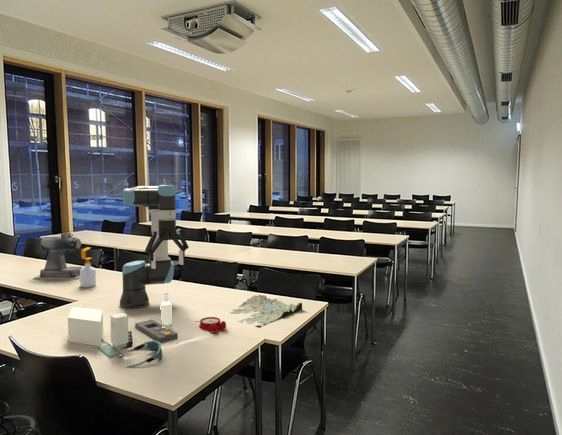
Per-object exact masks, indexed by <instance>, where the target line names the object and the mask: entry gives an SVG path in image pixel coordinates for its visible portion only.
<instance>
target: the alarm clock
mask: <svg viewBox="0 0 562 435" xmlns="http://www.w3.org/2000/svg"><path fill="white" fill-rule="evenodd" d="M195 322H196V323H198V321H195ZM199 329H200V330H204V331H208V332H210V334H216V333H217V332H219V331H221V332H222V331H225V330H226V329H227V323H226V321H224V320H223V321H221V318H219V317H216V316H214V317H213V316H207V317H203V318H201V319H200V321H199Z"/></svg>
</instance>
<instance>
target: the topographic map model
mask: <svg viewBox="0 0 562 435" xmlns="http://www.w3.org/2000/svg"><path fill="white" fill-rule="evenodd" d="M300 310H301V311H302V310H303V303H302V302H299V303H297V304H294V303H293V304H292V303H290V304H289V305H287V304H286V303H284V302H283V301H281V300H278V299H277V298H273V299H272V298H270V297H269V298H267V296H266V295H263V294H258V295H253V296H251V298H250V297H249V298H247V299H246V300H245V301H244V302H242V304H241V305H239V306H237V308H231V311H228V313H230V314H231V315H233V314H234V315H240V314H243V315H244V314H247V315H248V314H250V313H252V314H250V315H249V317H246V318H243V319H241V320H238V322H237V323H241V324H242V323H244V322H245V321H246V323H245V324H247V325H253V326H254V325H255V324H254V323H257V324H258V325H255V326H254V327H256V328H261V327H263V326H267V325H268V324H271V323H273V322H276V321H278V320H280V319H283V318H286V317H288V316H290V315H294V314H296V313H298V312H300ZM295 312H296V313H295ZM259 324H260V325H259Z"/></svg>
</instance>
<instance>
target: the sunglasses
mask: <svg viewBox="0 0 562 435" xmlns="http://www.w3.org/2000/svg"><path fill="white" fill-rule="evenodd" d="M144 348H145V349H147V351H149V352H150V351H152V352H156V354H154V355H153V356H151V357H149V358H147V359H145V360H143V361H141V362H139V363H135V364H132V365H131V364H130V365H129V366H126V368H134V367H137V366H141V365H144V364H145V363H151V362H154V361H155V360H157V362H159V361H161V359H162V356H163V350H162V342H161V343H160V342H159V341H156V340H148V341H144V342H143V343H142V344H139V345H137V346H135V347H133V348H131V349H129V350H127V351H126V353H130V352H133V351H137V350H140V349H144ZM124 356H125V355H124V354H121V355H119V357H118V359H120V358H122V357H124Z"/></svg>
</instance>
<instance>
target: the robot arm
mask: <svg viewBox="0 0 562 435" xmlns="http://www.w3.org/2000/svg"><path fill="white" fill-rule="evenodd" d="M176 194H177V191H176V186H175V185H173V184H160V185H138V186H133V187H130V188H123V190H122V203H123V205H124V206H134V207H140V208H147V211H148V212H149V213H150V214H151V215H150V216H151V217H150V219H151V220H150V221H151V222H150V223H151V226H150V227H151V230H150V231H151V236H150V238H149V240H148V243H147V244H146V247H145V250H144V252H145V253H147V254H148V258H149V259H148V263H146V261H145V260H135V261H134V260H133V261H130V262H127V263H125V264H124V265H122V273H121V274H122V293H121V296H120V299H119V307H120V308H124V309H137V308H138V309H139V308H144V307H147V306H148V305H149V304H150V298H149V296H148V292H147V290H146V285H148V286H149V285H164V284H169V283H172V281H173V277H174V272H175V271H174V270H175V263H174V262H173V261H172V259H171V257H170V256H169V245H168V244H169V241H173V242H174V244H175V245H177V247H178V248H179V250H178V265H180V266H184V258H185V257H186V256H185V255H186V254H185V253H186V252H185V251H187V250H188V249H189V248H190V247H189V245H188V243H187V240H186V239H185V236H184V234H183V229H180V228H178V229H176V227H177V225H176V224H177V221H176V217H177V215H176V214H177V212H176V211H177V210H176V204H177V202H176V200H177V199H176ZM176 234H177V236H178V238H179V239H178V238H177V236H176Z"/></svg>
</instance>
